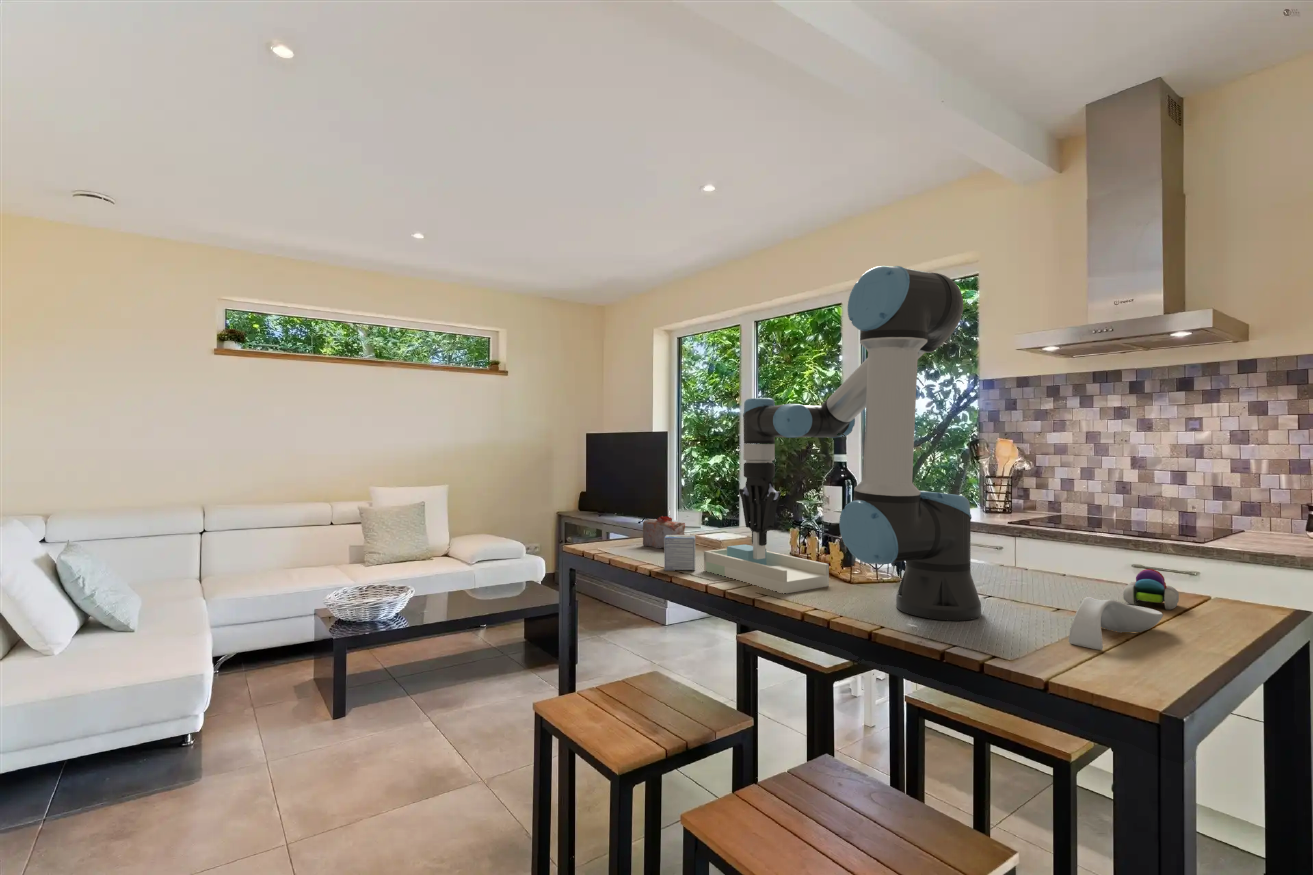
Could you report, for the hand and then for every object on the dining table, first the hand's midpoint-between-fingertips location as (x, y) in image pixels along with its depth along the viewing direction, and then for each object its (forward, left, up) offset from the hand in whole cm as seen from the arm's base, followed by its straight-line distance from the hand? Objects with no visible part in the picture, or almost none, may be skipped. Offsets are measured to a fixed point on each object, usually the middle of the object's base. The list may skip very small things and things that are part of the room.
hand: (759, 558), depth 154 cm
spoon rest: (-67, -20, -5) cm, 70 cm away
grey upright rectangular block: (+18, +11, -5) cm, 22 cm away
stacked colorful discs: (-62, -49, -5) cm, 80 cm away
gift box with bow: (+49, -4, -5) cm, 50 cm away
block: (+5, 0, -2) cm, 5 cm away
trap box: (-1, 0, -5) cm, 5 cm away
